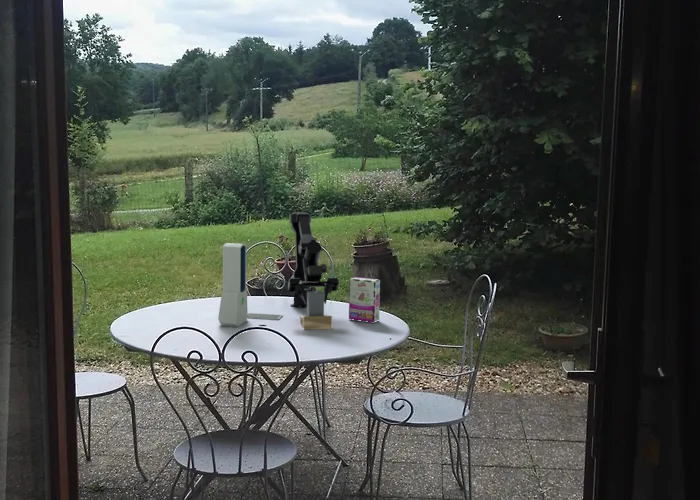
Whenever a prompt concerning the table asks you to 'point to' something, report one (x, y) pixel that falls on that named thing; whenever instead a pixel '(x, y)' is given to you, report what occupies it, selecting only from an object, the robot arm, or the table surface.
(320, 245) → the robot arm
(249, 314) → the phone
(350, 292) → the candy bar box
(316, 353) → the table surface
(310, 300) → the block
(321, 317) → the tan wooden block
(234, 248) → the electronic device
